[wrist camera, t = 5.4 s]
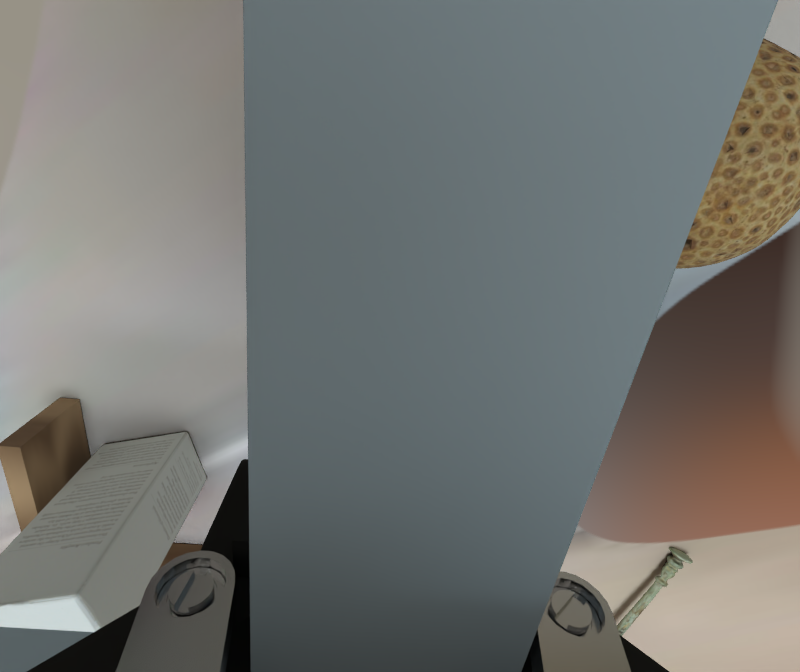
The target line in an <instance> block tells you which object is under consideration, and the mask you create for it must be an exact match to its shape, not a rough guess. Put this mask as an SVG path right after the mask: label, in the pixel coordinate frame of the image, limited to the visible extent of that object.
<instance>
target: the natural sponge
mask: <svg viewBox="0 0 800 672" xmlns="http://www.w3.org/2000/svg"><path fill="white" fill-rule="evenodd" d="M799 209H800V58H799V57H798V56H796V55H794V54H792V53H791V52H789V51H787V50H785V49H783V48H781V47H780V46H778V45H776V44H774V43H772V42H770V41H768V40H766V39H764V38H763V41H762V43H761V46H760V49H759V51H758V54H757V57H756V59H755V62H754V64H753V67H752V70H751V72H750V75H749V77H748V80H747V83H746V85H745V88H744V91H743V93H742V96H741V98H740V101H739V104H738V106H737V109H736V111H735V114H734V117H733V119H732V122H731V125H730V127H729V130H728V132H727V135H726V138H725V140H724V143H723V145H722V148H721V151H720V153H719V156H718V159H717V161H716V164H715V166H714V169H713V172H712V174H711V177H710V179H709V182H708V185H707V187H706V190H705V192H704V195H703V198H702V200H701V203H700V206H699V208H698V211H697V213H696V216H695V219H694V221H693V224H692V226H691V229H690V232H689V234H688V237H687V240H686V242H685V245H684V247H683V250H682V253H681V255H680V258H679V260H678V263H677V266H676V268H692V267H701V266H706V265H711V264H716V263H719V262H722V261H725V260H728V259H732V258H735V257H737V256H739V255H741V254H744V253H746V252H748V251H750V250H752V249H754V248H756V247H757V246H759V245H761V244H762V243H763V242H765V241H766V240H768V239H769V238H770V237H771V236H772V235H773V234H775V233H776V232H777V231H778V230H779V229H780V228H781V227H782V226H783V225H785V224H786V223H787V222H788V221H789V220H790V219H791V218H792V217H793V216H794V214H795V213H796V212H797V211H798V210H799Z"/></svg>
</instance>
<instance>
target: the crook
mask: <svg viewBox="0 0 800 672" xmlns="http://www.w3.org/2000/svg"><path fill="white" fill-rule="evenodd" d="M777 2H778V0H243V20H244V111H245V201H246V292H247V382H248V473H249V563H250V654H251V672H521V671H522V668H523V666H524V663H525V661H526V658H527V655H528V653H529V650H530V647H531V645H532V642H533V640H534V637H535V634H536V632H537V629H538V627H539V624H540V621H541V619H542V616H543V613H544V611H545V608H546V606H547V603H548V600H549V598H550V595H551V593H552V590H553V587H554V585H555V582H556V579H557V577H558V574H559V572H560V569H561V566H562V564H563V561H564V559H565V556H566V553H567V551H568V548H569V545H570V543H571V540H572V538H573V535H574V532H575V530H576V527H577V525H578V522H579V519H580V517H581V514H582V511H583V509H584V506H585V504H586V501H587V498H588V496H589V493H590V491H591V488H592V485H593V482H594V480H595V477H596V475H597V472H598V470H599V467H600V464H601V462H602V458H603V457H604V454H605V451H606V449H607V446H608V443H609V441H610V438H611V436H612V433H613V430H614V428H615V425H616V423H617V420H618V417H619V415H620V412H621V410H622V407H623V404H624V401H625V399H626V396H627V394H628V391H629V389H630V386H631V383H632V381H633V378H634V376H635V373H636V370H637V368H638V365H639V362H640V360H641V357H642V355H643V352H644V349H645V347H646V344H647V342H648V339H649V336H650V334H651V331H652V328H653V326H654V323H655V321H656V318H657V315H658V313H659V310H660V308H661V305H662V302H663V300H664V297H665V294H666V292H667V289H668V287H669V284H670V281H671V279H672V276H673V274H674V271H675V268H676V266H677V263H678V260H679V258H680V255H681V253H682V250H683V247H684V245H685V242H686V240H687V237H688V234H689V232H690V229H691V226H692V224H693V221H694V219H695V216H696V213H697V211H698V208H699V206H700V203H701V200H702V198H703V195H704V192H705V190H706V187H707V185H708V182H709V179H710V177H711V174H712V172H713V169H714V166H715V164H716V161H717V159H718V156H719V153H720V151H721V148H722V145H723V143H724V140H725V138H726V135H727V132H728V130H729V127H730V125H731V122H732V119H733V117H734V114H735V111H736V109H737V106H738V104H739V101H740V98H741V96H742V93H743V91H744V88H745V85H746V83H747V80H748V77H749V75H750V72H751V70H752V67H753V64H754V62H755V59H756V57H757V54H758V51H759V49H760V46H761V43H762V41H763V38H764V36H765V33H766V30H767V28H768V25H769V23H770V20H771V17H772V15H773V12H774V9H775V7H776V4H777ZM92 633H93V632H82V631H65V630H47V629H30V628H12V627H0V672H27V671H28V670H30V669H32V668H34V667H35V666H37V665H39V664H40V663H42V662H44V661H45V660H47V659H49V658H51V657H52V656H54V655H56V654H57V653H59V652H61V651H63V650H64V649H66V648H68V647H69V646H71V645H73V644H75V643H76V642H78V641H80V640H81V639H83V638H85V637H86V636H88V635H90V634H92Z"/></svg>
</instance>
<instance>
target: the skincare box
mask: <svg viewBox="0 0 800 672" xmlns="http://www.w3.org/2000/svg"><path fill="white" fill-rule="evenodd" d="M205 481H206V474H205V472H204V470H203V468H202V465H201V463H200V461H199V458H198V456H197V454H196V451H195V449H194V447H193V444H192V441H191V439H190V437H189V434H188V433H187V432H182V433H175V434H169V435H163V436H157V437H150V438H144V439H137V440H131V441H124V442H118V443H112V444H105V445H102V446H101V447H100V448H99V449H98V451H97V452H96V453H95V454H94V455H93V456H92V457H91V458H90V459H89V460H88V461H87V462H86V463H85V464H84V465H83V466H82V468H81V469H80V470H79V471H78V472H77V473H76V474H75V475H74V476H73V477H72V478H71V479H70V480H69V482H68V483H67V484H66V485H65V486H64V487H63V488H62V489H61V490H60V491H59V492H58V493H57V494H56V496H55V497H54V498H53V499H52V500H51V501H50V502H49V503H48V504H47V505H46V506H45V507H44V508H43V509H42V510H41V511H40V513H39V514H38V515H37V516H36V517H35V518H34V519H33V520H32V521H31V522H30V523H29V524H28V525H27V526H26V528H25V529H24V530H23V531H22V532H21V533H20V534H19V535H18V536H17V537H16V538H15V539H14V540H13V541H12V543H11V544H10V545H9V546H8V547H7V548H6V549H5V550H4V551H3V552H2V553H1V554H0V627H12V628H30V629H47V630H65V631H82V632H95V631H97V630H98V629H100V628H102V627H104V626H105V625H107V624H109V623H110V622H112V621H114V620H115V619H117V618H119V617H121V616H122V615H124V614H126V613H127V612H129V611H131V610H133V609H134V608H136V607H138V606H139V605H140V603H141V600H142V598H143V595H144V592H145V589H146V587H147V586H148V584H149V582H150V580H151V578H152V577H153V576H154V575H155V574H156V572H157V571H158V570H159V568H160V566H161V564H162V562H163V560H164V558H165V556H166V555H167V553H168V551H169V549H170V547H171V545H172V543H173V542H174V540H175V538H176V536H177V534H178V532H179V530H180V528H181V526H182V525H183V523H184V521H185V519H186V517H187V515H188V513H189V511H190V509H191V508H192V506H193V504H194V502H195V500H196V498H197V496H198V494H199V493H200V491H201V489H202V487H203V485H204V483H205Z"/></svg>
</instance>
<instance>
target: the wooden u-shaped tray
mask: <svg viewBox="0 0 800 672" xmlns="http://www.w3.org/2000/svg"><path fill="white" fill-rule="evenodd" d="M0 459H1V463H2V466H3V470H4V473H5V476H6V480H7V483H8V487H9V490H10V494H11V497H12V501H13V504H14V508H15V511H16V515H17V518H18V522H19V525H20V529H21V532H22V531H23V530H24V529H25V528H26V526H27V525H28V524H29V523H30V522H31V521H32V520H33V519H34V518H35V517H36V516H37V515H38V514H39V513H40V511H41V510H42V509H43V508H44V507H45V506H46V505H47V504H48V503H49V502H50V501H51V500H52V499H53V498H54V497H55V496H56V494H57V493H58V492H59V491H60V490H61V489H62V488H63V487H64V486H65V485H66V484H67V483H68V482H69V480H70V479H71V478H72V477H73V476H74V475H75V474H76V473H77V472H78V471H79V470H80V469H81V468H82V466H83V465H84V464H85V463H86V462H87V461H88V460H89V459H90V453H89V447H88V442H87V437H86V432H85V427H84V421H83V416H82V411H81V406H80V400H79V399H69V398H59V399H57V400H56V401H55V402H54V403H52V404H51V405H50V406H48V407H47V408H46V409H44V410H43V411H42V412H40V413H39V414H38V415H36V416H35V417H34V418H32V419H31V420H30V421H29V422H27V423H26V424H25V425H23V426H22V427H21V428H19V429H18V430H17V431H15V432H14V433H13V434H11V435H10V436H9V437H8V438H6V439H5V440H4V441H2V442H1V443H0ZM202 546H203V545H195V544H180V543H172V545H171V547H170V549H169V551H168V553H167V555H166V556H165V558H164V560H163V562H162V564H161V566H160V568H161V567H162V566H164V565H165V564H167V563H168V562H170V561H171V560H172V559H174V558H176V557H179V556H181V555H183V554H186V553H190V552H195V551H200V550H201V548H202ZM160 568H159V569H160Z"/></svg>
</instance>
